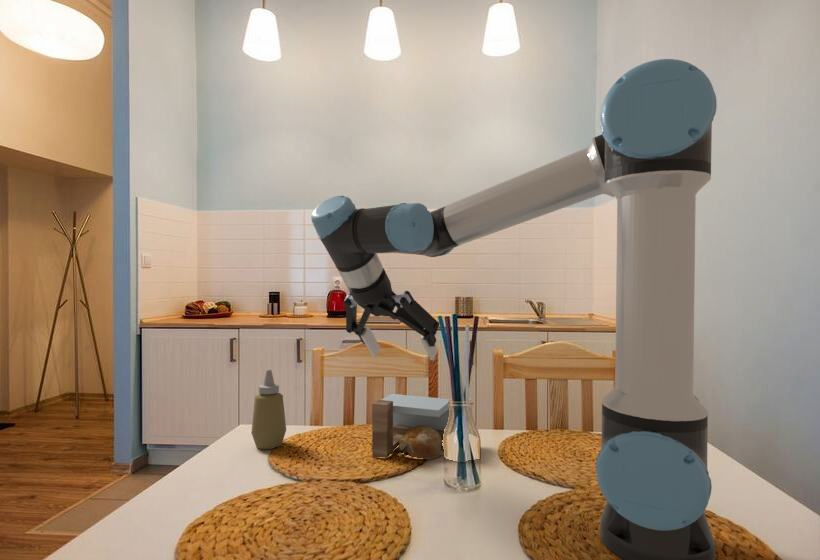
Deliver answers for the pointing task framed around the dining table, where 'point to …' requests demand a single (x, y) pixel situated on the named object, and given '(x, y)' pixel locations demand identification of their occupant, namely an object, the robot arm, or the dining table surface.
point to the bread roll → (421, 443)
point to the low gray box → (419, 411)
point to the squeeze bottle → (268, 415)
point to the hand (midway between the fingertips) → (404, 353)
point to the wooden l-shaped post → (386, 429)
